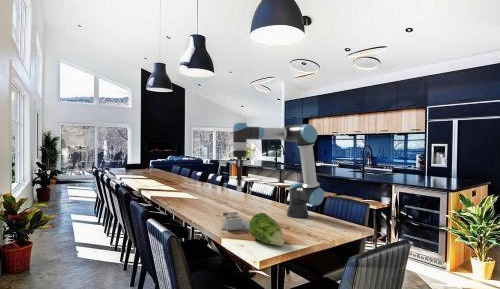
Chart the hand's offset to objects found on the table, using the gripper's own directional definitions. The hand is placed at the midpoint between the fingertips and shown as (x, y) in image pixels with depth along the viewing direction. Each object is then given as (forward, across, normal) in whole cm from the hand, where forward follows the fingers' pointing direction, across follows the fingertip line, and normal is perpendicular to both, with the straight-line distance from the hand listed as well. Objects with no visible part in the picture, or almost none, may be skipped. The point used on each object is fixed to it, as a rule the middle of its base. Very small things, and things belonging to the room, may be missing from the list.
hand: (239, 191), depth 171 cm
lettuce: (+24, +14, +16) cm, 32 cm away
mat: (+24, -14, -1) cm, 28 cm away
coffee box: (+20, -3, -2) cm, 20 cm away
